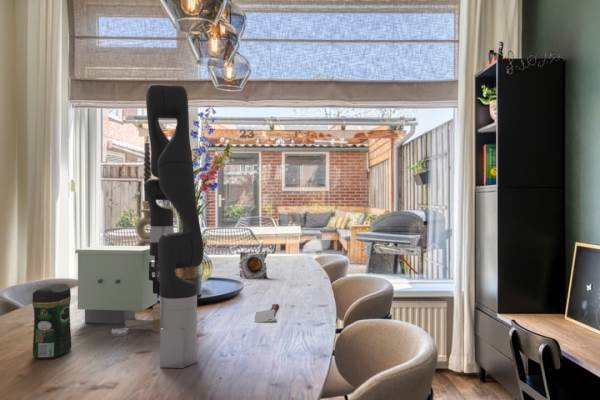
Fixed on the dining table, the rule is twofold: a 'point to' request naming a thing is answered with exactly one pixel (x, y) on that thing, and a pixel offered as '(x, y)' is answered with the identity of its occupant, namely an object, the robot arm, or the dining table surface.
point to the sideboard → (114, 282)
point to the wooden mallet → (147, 321)
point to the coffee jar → (51, 321)
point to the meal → (253, 265)
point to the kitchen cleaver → (266, 315)
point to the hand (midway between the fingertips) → (162, 291)
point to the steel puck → (120, 331)
